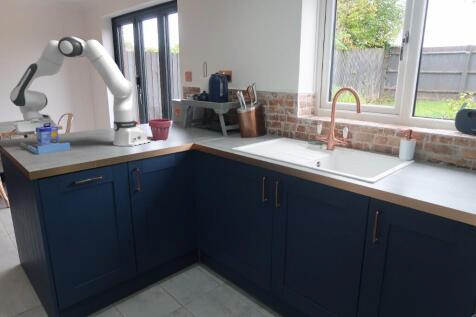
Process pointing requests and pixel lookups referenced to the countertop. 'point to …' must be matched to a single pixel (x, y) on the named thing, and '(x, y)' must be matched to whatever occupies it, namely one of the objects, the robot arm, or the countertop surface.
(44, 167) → the countertop surface
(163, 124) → the plant pot
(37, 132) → the ink cartridge box
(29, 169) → the countertop surface
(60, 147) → the light blue tray
